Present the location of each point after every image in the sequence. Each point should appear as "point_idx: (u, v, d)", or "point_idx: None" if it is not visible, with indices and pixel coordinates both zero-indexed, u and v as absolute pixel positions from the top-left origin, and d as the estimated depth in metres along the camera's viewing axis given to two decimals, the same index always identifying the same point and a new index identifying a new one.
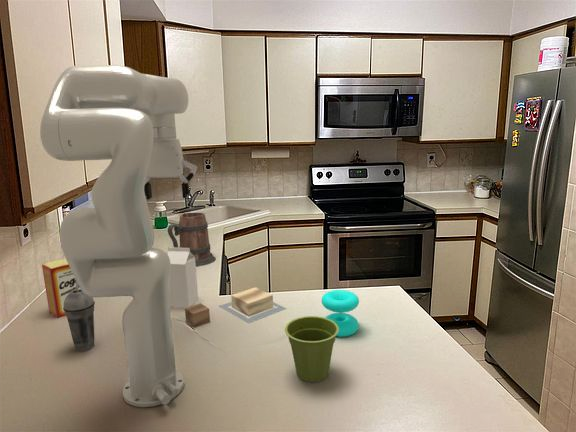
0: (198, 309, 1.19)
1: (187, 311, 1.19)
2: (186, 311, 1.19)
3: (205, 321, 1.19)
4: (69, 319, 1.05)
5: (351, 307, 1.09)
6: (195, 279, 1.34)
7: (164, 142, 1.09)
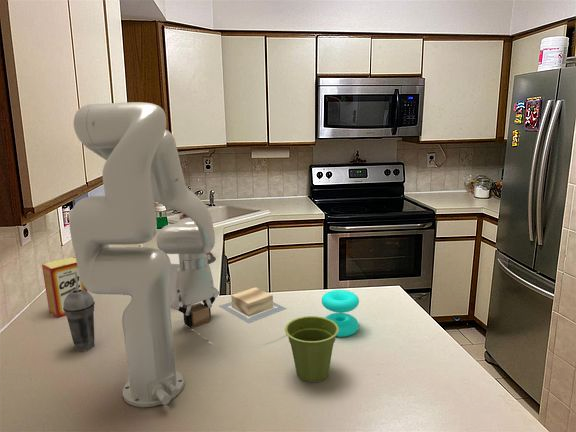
0: (198, 309, 1.19)
1: None
2: None
3: (205, 321, 1.19)
4: (69, 319, 1.05)
5: (351, 307, 1.09)
6: None
7: None
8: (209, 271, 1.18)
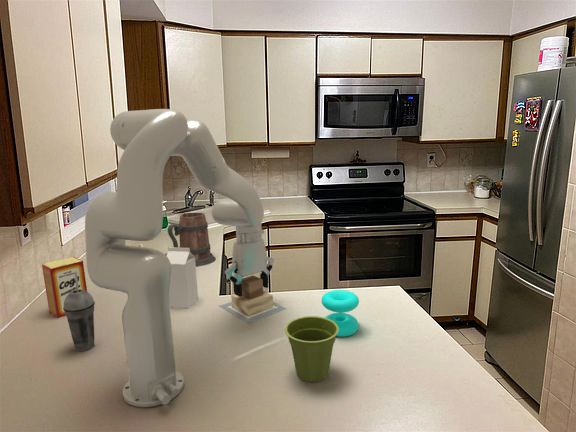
0: (252, 280, 1.26)
1: (242, 282, 1.26)
2: (241, 281, 1.26)
3: (259, 291, 1.26)
4: (69, 319, 1.05)
5: (351, 307, 1.09)
6: (195, 279, 1.34)
7: None
8: (263, 245, 1.25)
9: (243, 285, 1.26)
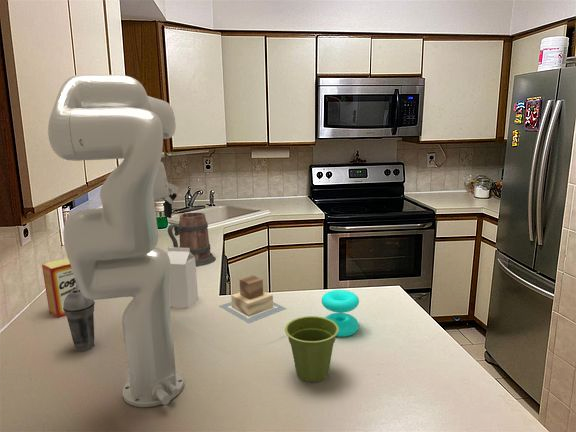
0: (252, 280, 1.26)
1: (242, 282, 1.26)
2: (241, 281, 1.26)
3: (259, 291, 1.26)
4: (69, 319, 1.05)
5: (351, 307, 1.09)
6: (195, 279, 1.34)
7: None
8: (162, 168, 1.14)
9: (243, 285, 1.26)
